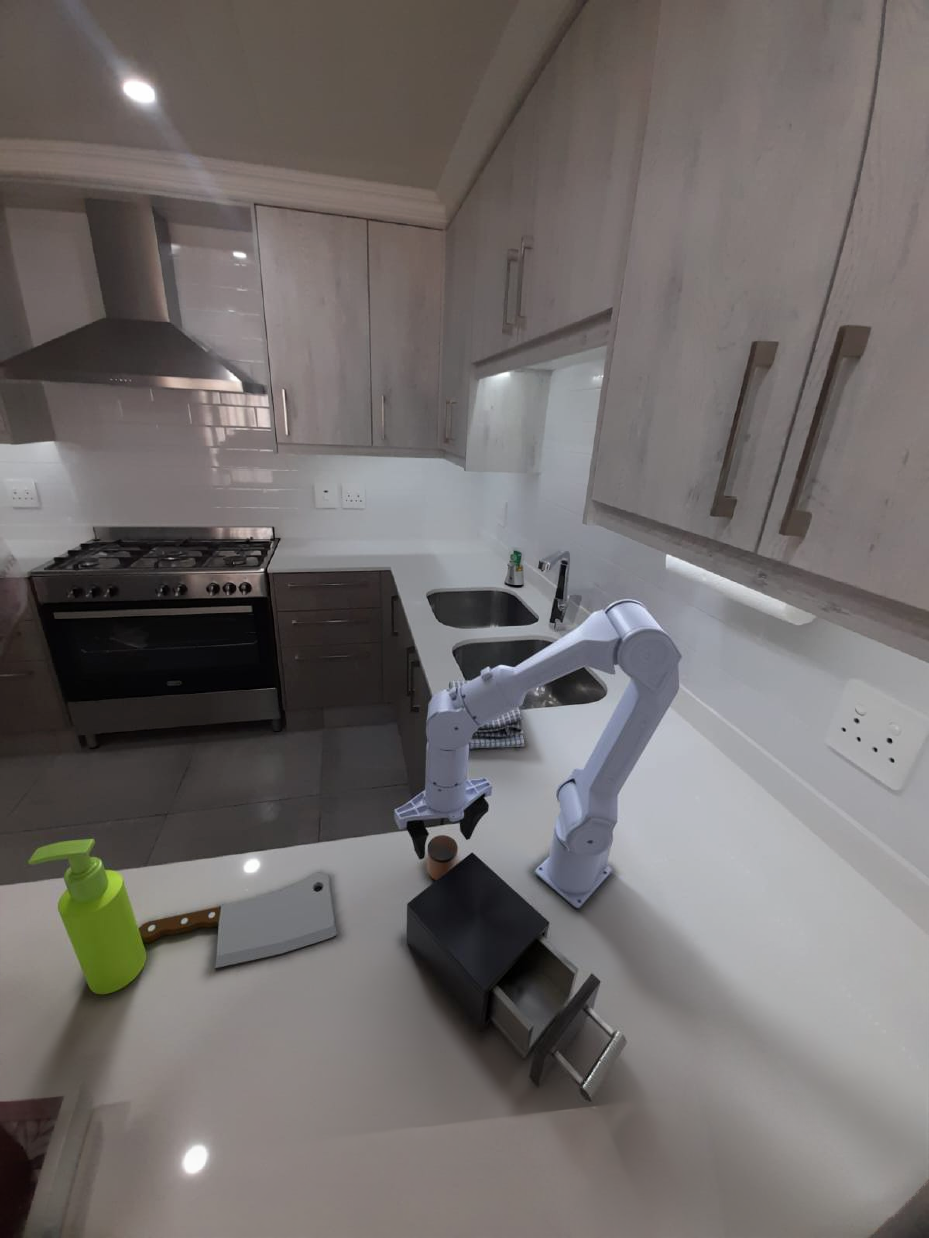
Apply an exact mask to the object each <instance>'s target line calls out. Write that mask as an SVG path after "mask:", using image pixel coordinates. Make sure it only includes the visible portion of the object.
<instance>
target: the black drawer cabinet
mask: <svg viewBox="0 0 929 1238" xmlns="http://www.w3.org/2000/svg"><path fill="white" fill-rule="evenodd" d="M549 928H550V921H549V920H548V919H546V918H545V916H543V915H542V914H541V913H540V912H539V911H538V910H537V909H536V908H534V907H533V906H532V905H531V904H530V903H529V902H528V901H527V900H526V899H524V898H523V897H522V896H521V895H520V893H518V892H517V891H516V890H515V889H513V887H512V886H510V885H509V884H508V883H507V882H506V881H505V880H503V878H502V877H500V876H499V875H498V874H497V873H496V872H495V871H494V870H493V869H491V867H489V866H488V864H486V863H485V862H484V861H483V860H481V858H479V857H478V856H477V854H475V853H474V852H473V851H472V852H471V853H469V854H468V855H466V857H464V858H463V859H461V860H460V861H459V862H458V863H456V865H455V866H454V867H453V868H451V869H450V870H449V871H448V872H446V873H445V874H444V875H443V876H441V877H440V878H439V879H438V880H434V882H432V883H431V884H430V885H429V886H427V887H426V888H425V889H424V890H422V891H421V892H420V893H418V894H417V895H416V896H415V897H414V898H412V899H411V900H410V901H408V902H407V903H406V944H407V945H408V946H409V947H410V948H411V950H412V951H413V952H414V953H415V955H417V957H418V958H419V960H420V961H421V962H422V963H423V964H424V965H425V967H426V968H427V969H428V970H429V972H430V973H431V974H432V975H433V977H434V978H435V979H436V981H438V983H439V984H440V986H442V987H443V989H444V990H445V991H446V993H448V995H449V996H450V998H451V999H452V1000H453V1001H454V1002H455V1004H456V1005H457V1006H458V1007H459V1008H460V1009H461V1011H462V1012H463V1013H464V1014H465V1016H466V1017H467V1019H468V1020H469V1021H470V1022H471V1023H472V1025H473V1026H474V1027H475V1028H476V1030H477V1031H478V1032H480V1033H481V1032H482V1030H483V1029H485V1027H486V1026H487V1025H488V1024H489V1023H490V1021H491V1019H490V1018H489V1017H488V1016H487V1015H486V1011H487V1003H488V995H489V991H490V990H491V989H492V988H493V987H494V985H495V984H496V983H497V982H498V981H499V980H500V979H501V978H502V977H503V976H504V975H505V973H506V972H507V971H508V970H509V969H510V968H511V967H512V966H513V965H514V964H515V963H516V962H517V960H518V959H519V958H520V957H521V956H522V955H523V954H524V953H525V952H526V951H527V950H528V948H529V947H530V946H531V945H532V944H533V943H534V942H535V941H536V940H537V939H538V938H539V936H540V935H541V934H542V935H543V936H544V937H545V938H546V939H548V938H547V937H548V933H549Z"/></svg>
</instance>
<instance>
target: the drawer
mask: <svg viewBox="0 0 929 1238" xmlns="http://www.w3.org/2000/svg"><path fill="white" fill-rule="evenodd" d="M578 972H579V968H578V967H577V966H576V965H575V964H574V963H573V962H571V961H570V960H569V959H568V958H567V957H566V956H565V955H564V954H563V953H562V952H561V951H560V950H559V949H558V948H556V946H555V945H554V944H553V943H551V942H550V941H549V940H548V938H545V937H544V936H543V935H542V934H541V935H540V936H539V938H538V939H537V940H536V941H535V942H534V943H533V944H532V945H531V946H530V947H529V948H528V950H527V951H526V952H525V953H524V954H523V955H522V956H521V957H520V958H519V959H518V960H517V962H516V963H515V964H514V965H513V966H512V967H511V968H510V969H509V970H508V971H507V972H506V973H505V975H504V976H503V977H502V978H501V979H500V980H499V981H498V982H497V983H496V984H495V985H494V987H493V988H492V989H491V990H490V991H489V995H488V1003H487V1011H486V1015H487V1016H488V1017H489V1018H490V1019H491V1020H490V1021H492V1022H491V1023H493V1024H494V1025H495V1027H496V1028H497V1029H498V1030H499V1032H500V1033H501V1034H502V1035H503V1036H504V1037H505V1038H506V1040H507V1041H508V1042H509V1043H510V1045H512V1047H513V1048H514V1049H515V1050H516V1051H517V1053H518V1054H519V1055H520V1056H521V1058H522V1059H525V1058H526V1057H527V1056H528V1054H529V1053H530V1051H531V1050H532V1049H533V1048H534V1047H535V1048H534V1052H533V1057H532V1062H531V1067H530V1071H529V1075H528V1078H529V1079H530V1080H531V1081H532V1083H533V1084H534V1085H535V1086H536V1087H537V1088H539V1087H540V1086H541V1084H542V1083H543V1081H544V1080H545V1079H546V1077H547V1076H548V1075H549V1073H550V1072H551V1070H552V1069H553V1067H554V1066H555V1064H556V1063H557V1064H558V1065H559V1066H560V1068H561V1069H562V1070H563V1071H564V1072H565V1073H566V1075H567V1076H569V1078H570V1079H571V1080H572V1081H573V1082H574V1083H575V1084H576V1085H577V1087H578V1091H579V1093H580V1095H581V1096H582V1097H583V1099H584V1100H585V1101H586V1102H589V1103H591V1102H592V1100H593V1099H594V1097H595V1096H596V1094H597V1092H598V1091H599V1090H600V1088H601V1086H602V1084H603V1082H604V1081H605V1079H606V1078H607V1076H608V1075H609V1073H610V1071H611V1069H612V1068H613V1067H614V1065H615V1064H616V1062H617V1060H618V1059H619V1057H620V1055H621V1053H622V1052H623V1050H624V1048H625V1047H626V1046H627V1043H628V1042H627V1041H628V1040H627V1039H626V1037H625V1034H623V1032H621V1031H619V1030H615V1029H613V1028H612V1027H611V1026H610V1025H609V1024H608V1023H607V1022H606V1021H605V1020H604V1019H603V1018H602V1017H601V1016H599V1014H598V1013H597V1012H596V1011H595V1010H594V1006H595V1004H596V1000H597V996H598V992H599V989H600V985H601V983H602V982H601V980H600V979H599V978H598V977H597V976H596V975H595V974H594V973H593V972H591V973H590V974H589V976H588V977H587V978H586V980H585V981H584V982H583V983H582V985H581V986H580V987H579V989H578V990H577V991H576V993H575V994H574V996H573V992H574V988H575V984H576V981H577V978H578V977H577V976H578ZM572 996H573V997H572ZM569 1000H570V1001H569ZM566 1004H567V1005H566ZM563 1008H564V1009H563ZM561 1011H562V1012H561ZM560 1012H561V1013H560ZM559 1013H560V1014H559ZM557 1016H558V1017H557ZM556 1017H557V1018H556ZM588 1018H590V1020H592V1021H593V1022H594V1023H595V1024H596V1025H597V1027H599V1028H600V1029H601V1031H603V1032H604V1033H605V1034H606V1035H607V1036H608V1037H609V1038H610V1039H609V1040H608V1042H607V1043H606V1044H605V1046H604V1048H603V1049H602V1051H601V1052H600V1054H599V1055H598V1057H597V1058H596V1060H595V1061H594V1063H593V1065H592V1066H591V1067H590V1070H589V1071H588V1073H586V1076H585V1077H584V1078H583V1077H582V1076H581V1075H580V1074H579V1072H578V1071H577V1070H575V1068H574V1067H573V1066H572V1065H571V1064H570V1063H569V1062H568V1061H567V1060H566V1058H565V1057H564V1056H563V1054H564V1052H565V1051H566V1049H567V1048H568V1046H569V1045H570V1044H571V1042H572V1040H573V1039H574V1038H575V1036H576V1035H577V1033H579V1031H580V1030H581V1028H582V1027H583V1025H584V1023H585V1022H586V1021H587V1020H588ZM554 1020H555V1021H554ZM553 1021H554V1022H553ZM551 1024H552V1025H551ZM550 1025H551V1026H550ZM547 1029H548V1030H547ZM542 1036H543V1037H542ZM540 1038H541V1039H540ZM536 1043H537V1044H536ZM535 1045H536V1046H535Z"/></svg>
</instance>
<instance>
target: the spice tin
mask: <svg viewBox="0 0 929 1238" xmlns="http://www.w3.org/2000/svg"><path fill="white" fill-rule="evenodd" d="M458 849H459V847H458V843H457V841H456V840H455V839H454V838H453V837H451V836H449V835H446V834H443V835H442V834H441V835H436V836H434V837H432V838H431V839H430V840H429V842H428V844H427V862H426V863H427V864H426V870H427V874H428V876H429V877H430V878H431V879H433V880H434V881H436V880H438V879H439V878H440V877H441V876H443V875H444V874H445V873H446V872H448V871H449V870H450V869H451V868H453V867H454V866H455V865H457V858H458Z"/></svg>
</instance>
